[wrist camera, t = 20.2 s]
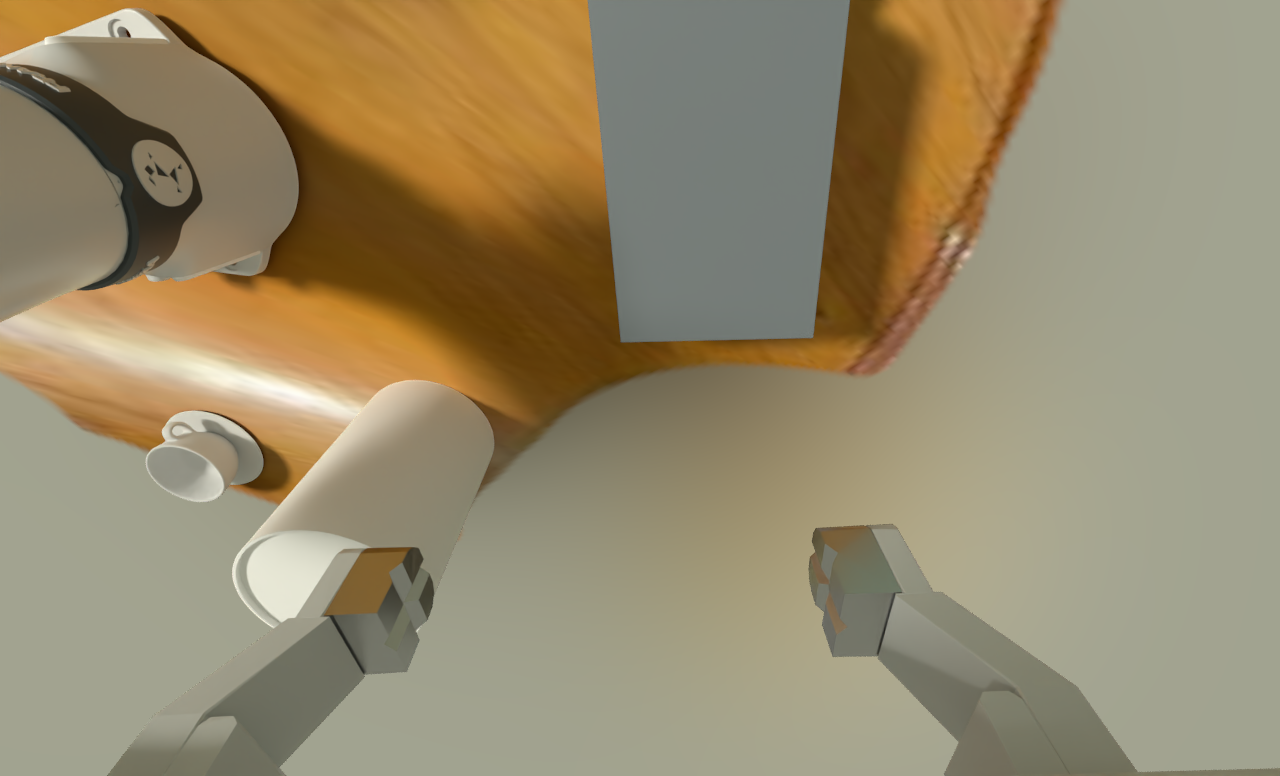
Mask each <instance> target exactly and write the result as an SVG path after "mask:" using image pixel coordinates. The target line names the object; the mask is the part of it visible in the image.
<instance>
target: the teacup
mask: <svg viewBox="0 0 1280 776" xmlns="http://www.w3.org/2000/svg"><path fill="white" fill-rule="evenodd" d="M162 435H163V437H164V439H165V441H166V442H164V443H162V444H161V445H159V446H157V447H155V448H154V449H152V450H151V451H150V452H149V453H148V455H147V457H146V467H147V470H148V472H149V474H150V476H151V477H152V478H153V480H154V481H155V482H156V483H157V484H158V485H159V486H161V487H162V488H163V489H165V490H166V491H168V492H169V493H171V494H173V495H175V496H177V497H180V498H183V499H185V500H189V501H195V502H209V501H212V500H215V499H217V498H219V497H220V496H221V495H222V494H223V493H224V491H225V490H226V489H227V488H228V486H229V485H239V484H245V483H248V482H251V481H253V480H254V479H256V478H257V477H258V476H259V475H260V473H261V471H262V469H263V463H264V462H263V455H262V453H261V450H260V448H259V446H258V445H257V443H256V442H255V440H254V439H253V438H252V437H251V436H250V435H249V434H248V433H247V432H246V431H245V430H244V429H242V428H241V427H240V426H238V425H237V424H235V423H234V422H232V421H230V420H228V419H226V418H224V417H221V416H219V415H216V414H213V413H209V412H204V411H185V412H181V413H178V414H176V415H174V416H173V417H171V418H170V419H169V421H168V422H167V423H166V426H165V427H164V428H163V430H162Z"/></svg>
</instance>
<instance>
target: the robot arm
mask: <svg viewBox="0 0 1280 776" xmlns="http://www.w3.org/2000/svg"><path fill="white" fill-rule="evenodd" d="M126 30H128V31H129V33H130V35H131V38H129V37H128V36H127V33H126ZM298 194H299V183H298V174H297V168H296V164H295V160H294V157H293V154H292V151H291V148H290V146H289V143H288V141H287V139H286V137H285V135H284V133H283V131H282V129H281V127H280V126H279V124H278V122H277V121H276V119H275V118H274V116H273V115H272V113H271V112H270V111H269V109H268V108H267V107H266V106H265V104H264V103H263V102H262V101H261V100H260V98H259V97H258V96H257V95H256V94H255V93H254V92H253V91H252V90H251V89H250V88H249V87H248V86H247V85H246V84H244V83H243V82H242V81H241V80H240V79H239V78H237V77H236V76H235V75H233V74H232V73H231V72H229V71H228V70H226V69H225V68H223V67H222V66H220V65H219V64H217V63H215V62H213V61H211V60H210V59H208V58H206V57H204V56H202V55H200V54H199V53H197V52H195V51H194V50H192V49H191V48H189V47H188V46H186V45H185V44H184V43H183V42H182V41H181V40H180V39H179V38H178V37H177V36H176V35H175V34H174V33H173V32H172V31H171V30H170V29H169V28H168V27H167V26H166V25H165V24H164V23H163V22H162V21H161V20H160V19H158V18H157V17H156V16H155V15H153V14H152V13H151V12H149V11H147V10H145V9H142V8H126V9H122V10H120V11H117V12H114V13H112V14H109V15H107V16H104V17H102V18H99V19H97V20H94V21H92V22H89V23H86V24H84V25H81V26H79V27H76V28H74V29H71V30H69V31H66V32H64V33H61V34H58V35H56V36H50V37H46V38H45V40H43V41H41V42H38V43H36V44H33V45H30V46H28V47H25V48H23V49H20V50H18V51H15V52H13V53H10V54H8V55H5V56H2V57H0V322H2V321H4V320H6V319H9V318H11V317H13V316H15V315H17V314H20V313H22V312H24V311H26V310H29V309H31V308H33V307H35V306H38V305H40V304H42V303H45V302H47V301H50V300H52V299H54V298H57V297H59V296H62V295H64V294H67V293H69V292H72V291H74V290H94V289H99V288H103V287H106V286H110V285H114V284H116V285H117V284H121V283H124V282H127V281H130V280H133V279H135V278H137V277H139V276H141V275H143V274H145V275H146V276H147V278H148V280H150V281H164V280H168V279H170V278H172V279H174V280H175V281H185V280H189V279H192V278H195V277H197V276H200V275H203V274H206V273H209V272H211V271H213V272H221V273H229V274H237V275H245V276H252V275H256V274H259V273H262V272H263V271H264V270H265V269H266V267H267V264H268V261H269V257H270V251H271V246H272V244H273V243H274V241H275V240H276V239H277V238H278V237H279V235H280V234H281V233H282V232H283V231H284V230H285V229H286V228H287V226H288V225H289V223H290V222H291V220H292V218H293V216H294V213H295V210H296V207H297V202H298ZM812 543H813V546H814V549H815V553H814V554H813V555H812V556H811V557H810V561H809V580H810V585H811V591H812V595H813V598H814V601H815V605H817V606H818V607H819V608H820V609H821V610H822V611H824V616H823V622H822V626H823V629H824V632H825V635H826V638H827V641H828V644H829V647H830V650H831V653H832V656H833V657H837V656H839V657H842V656H878V659H879V660H880V661H881V662H882V663H883V664H884V665H885V666H886V668H887V669H889V671H890V672H891V673H892V674H893V675H894V676H895V677H896V678H897V679H898V680H899V681H900V682H901V683H902V684H903V685H904V686H905V687H906V688H907V689H908V690H909V691H910V692H911V693H912V694H913V695H914V696H915V697H916V698H917V699H918V701H920V703H921V704H922V705H923V706H924V707H925V708H926V709H927V710H928V711H929V712H930V713H931V714H932V715H933V716H934V717H935V718H936V719H937V720H938V721H939V722H940V723H941V724H942V725H943V726H944V727H945V728H946V729H947V730H948V731H949V732H950V734H951V735H952V736H954V738H955V739H956V740H957V741H958V742H959V743H958V746H957V748H956V750H955V752H954V754H953V756H952V759H951V760H950V762H949V765H948V767H947V769H946V771H945V773H944V775H945V776H1280V768H1275V769H1237V770H1200V771H1161V772H1137V770H1136V769H1135V767H1134V766H1133V765H1132V763H1131V762H1130V760H1129V759H1128V757H1127V756H1126V755H1125V753H1124V752H1123V751H1122V749H1121V748H1120V746H1119V745H1118V743H1117V742H1116V741H1115V739H1114V738H1113V736H1112V735H1111V734H1110V733H1109V731H1108V729H1107V728H1106V726H1105V725H1104V724H1103V722H1102V721H1101V719H1100V718H1099V717H1098V715H1097V714H1096V712H1095V711H1094V710H1093V708H1092V707H1091V705H1090V704H1089V702H1088V701H1087V700H1086V698H1085V697H1084V695H1083V694H1082V693H1081V691H1080V690H1079V688H1078V687H1077V686H1076V685H1074V684H1073V683H1071V682H1070V681H1068V680H1067V679H1066V678H1064V677H1063V676H1061V675H1060V674H1058V673H1057V672H1056V671H1054V670H1053V669H1051V668H1050V667H1048V666H1047V665H1046V664H1044V663H1043V662H1041V661H1040V660H1038V659H1037V658H1035V657H1034V656H1033V655H1031V654H1030V653H1028V652H1027V651H1025V650H1024V649H1023V648H1021V647H1020V646H1018V645H1017V644H1015V643H1014V642H1013V641H1011V640H1010V639H1008V638H1007V637H1005V636H1004V635H1003V634H1001V633H1000V632H998V631H997V630H995V629H994V628H993V627H991V626H990V625H988V624H987V623H985V622H984V621H983V620H981V619H980V618H978V617H977V616H975V615H974V614H973V613H971V612H969V611H968V610H967V609H965V608H964V607H963V606H961V605H960V604H958V603H957V602H955V601H954V600H952V599H951V598H950V597H948V596H947V595H945V594H944V593H942V592H933V590H932V588H931V587H930V585H929V583H928V581H927V580H926V578H925V576H924V574H923V573H922V571H921V569H920V567H919V566H918V564H917V562H916V560H915V559H914V557H913V555H912V553H911V551H910V550H909V548H908V546H907V544H906V543H905V541H904V539H903V537H902V536H901V534H900V532H899V530H898V529H897V527H895V526H894V525H893V524H883V525H867V526H864V525H863V526H844V527H827V528H816V529H815V531H814V532H813V538H812ZM423 560H424V558H423V556H422V554H421V552H420V550H419V548H416V547H389V548H358V549H343V550H342V551H340V552H339V553H337V554H336V555H335V557H334V559H333V560H332V562H331V563H330V565H329V566H328V568H327V569H326V571H325V572H324V574H323V576H322V577H321V579H320V580H319V582H318V583H317V585H316V586H315V588H314V589H313V591H312V593H311V594H310V596H309V597H308V599H307V600H306V602H305V603H304V605H303V606H302V608H301V610H300V611H299V613H298V614H297V616H296V617H295V618H287V619H286V620H285V621H283V622H282V623H281V624H279V625H278V626H276V627H275V628H274V629H272V630H271V631H270V632H268V633H267V634H266V635H264V636H263V637H261V638H260V639H259V640H257V641H256V642H254V643H253V644H252V645H251V646H249V647H247V648H246V649H245V650H243V651H242V652H241V653H239V654H238V655H237V656H235V657H234V658H232V659H231V660H230V661H228V662H227V663H225V664H224V665H223V666H221V667H220V668H219V669H217V670H216V671H214V672H213V673H212V674H210V675H209V676H208V677H206V678H205V679H203V680H202V681H201V682H199V683H198V684H197V685H195V686H194V687H192V688H191V689H190V690H188V691H187V692H185V693H184V694H183V695H181V696H180V697H179V698H177V699H176V700H175V701H173V702H172V703H170V704H169V705H168V706H166V707H165V708H163V709H162V710H161V711H160V712H158V713H157V714H155V715H154V716H153V717H152V718H151V719H150V721H149V722H148V723H147V724H146V726H145V727H144V729H143V730H142V731H141V732H140V734H139V735H138V736H137V738H136V739H135V740H134V741H133V743H132V744H131V745H130V747H129V748H128V749H127V751H126V752H125V753H124V754H123V756H122V757H121V758H120V760H119V761H118V762H117V764H116V765H115V766H114V768H113V769H112V770H111V771H110V773H109V774H108V775H107V776H286V775H285V774H284V773H283V771H281V769H280V768H279V767H280V766H281V765H282V764H283V763H284V762H285V761H286V760H287V759H288V758H289V757H290V756H291V754H293V752H294V751H295V750H296V749H297V748H298V747H299V746H300V745H301V744H302V743H303V742H304V741H305V740H306V739H307V738H308V736H310V734H311V733H312V732H313V731H314V730H315V729H316V728H317V727H318V726H319V725H320V724H321V723H322V722H323V721H324V720H325V719H326V717H327V716H328V715H329V714H330V713H331V712H332V711H333V710H334V709H335V708H336V707H337V706H338V705H339V704H340V703H341V702H342V701H343V700H344V698H345V697H346V696H347V695H348V694H349V693H350V692H351V691H352V690H353V689H354V688H355V687H356V686H357V685H358V684H359V683H360V681H361V680H362V679H363V678H364V677H365V676H364V675H365V674H380V673H395V672H407V670H408V667H409V665H410V663H411V660H412V658H413V655H414V653H415V650H416V647H417V645H418V643H419V638H418V635H417V632H416V630H417V629H418V628H419V627H420V626H421V625H422V624H424V623H425V622H426V621H427V620H428V617H429V615H430V612H431V609H432V605H433V597H434V587H433V581H432V578H431V576H430V573H428V572H427V571H425V570H424V569H422V568H421V567H420V566H421V564H422V562H423Z"/></svg>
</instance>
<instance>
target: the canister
mask: <svg viewBox="0 0 1280 776" xmlns="http://www.w3.org/2000/svg"><path fill="white" fill-rule="evenodd" d="M493 452H494V435H493V431H492V428H491V425H490V423H489V421H488V419H487V418H486V416H485V415H484V413H483V412H482V411H481V410H480V408H479V407H478V406H477V405H476V404H475V403H474V402H472V401H471V400H470V399H469V398H467V397H466V396H465V395H463V394H462V393H460V392H458V391H456V390H454V389H452V388H450V387H448V386H445V385H442V384H439V383H435V382H431V381H424V380H407V381H401V382H397V383H394V384H391V385H389V386H387V387H385V388H383V389H381V390H380V391H379V392H378V393H376V394H375V395H374V396H373V398H372V399H371V400H370V401H369V402H368V403H367V405H366V406H365V407H364V408H363V409H362V410H361V412H360V413H359V414H358V415H357V416H356V417H355V418H354V420H353V421H352V422H351V423H350V424H349V425H348V427H347V428H346V429H345V430H344V431H343V432H342V434H341V435H340V436H339V437H338V438H337V439H336V440H335V442H334V443H333V444H332V445H331V446H330V447H329V449H328V450H327V451H326V452H325V453H324V454H323V456H322V457H321V458H320V459H319V460H318V461H317V463H316V464H315V465H314V466H313V467H312V468H311V469H310V471H309V472H308V473H307V474H306V475H305V476H304V478H303V479H302V480H301V481H300V482H299V483H298V485H297V486H296V487H295V488H294V489H293V490H292V491H291V493H290V494H289V495H288V496H287V497H286V498H285V500H284V501H283V502H282V503H281V504H280V505H279V507H278V508H277V509H276V510H275V511H274V512H273V513H272V515H271V516H270V517H269V518H268V519H267V521H266V522H265V523H264V524H263V525H262V526H261V527H260V529H259V530H258V531H257V532H256V533H255V534H254V535H253V537H252V538H251V539H250V540H249V541H248V542H247V544H246V545H245V546H244V547H243V548H242V549H241V551H240V552H239V553H238V555H237V556H236V559H235V561H234V564H233V569H232V576H233V582H234V585H235V588H236V590H237V592H238V594H239V596H240V597H241V599H242V600H243V602H244V603H245V604H246V606H247V607H248V608H249V609H250V610H251V611H252V612H253V613H254V614H255V615H256V616H257V617H259V618H260V619H261V620H262V621H264V622H265V623H266V624H268V625H269V626H271V627H272V628H275V627H276V626H278V625H279V624H281V623H282V622H283V621H285V620H286V619H287V618H295V617H296V616H297V614H298V613H299V611H300V610H301V608H302V606H303V605H304V603H305V602H306V600H307V599H308V597H309V596H310V594H311V593H312V591H313V589H314V588H315V586H316V585H317V583H318V582H319V580H320V579H321V577H322V576H323V574H324V572H325V571H326V569H327V568H328V566H329V565H330V563H331V562H332V560H333V559H334V557H335V555H336V554H337V553H339V552H340V551H342V550H343V549H358V548H389V547H416V548H419V550H420V552H421V554H422V556H423V558H424V560H423V562H422V564H421V566H420V567H421V568H422V569H424V570H425V571H427V572H428V573H430V576H431V578H432V581H433V587H434V595H435V592H436V590H437V588H438V585H439V583H440V580H441V578H442V576H443V573H444V571H445V568H446V566H447V564H448V561H449V559H450V556H451V554H452V551H453V549H454V547H455V545H456V542H457V540H458V537H459V535H460V533H461V530H462V528H463V525H464V523H465V520H466V518H467V516H468V513H469V511H470V508H471V506H472V504H473V501H474V499H475V496H476V494H477V492H478V489H479V487H480V484H481V482H482V480H483V477H484V475H485V472H486V470H487V468H488V465H489V463H490V460H491V458H492V455H493ZM421 626H422V625H421ZM421 626H420V627H419V628H418V629H417V630H416V632H418V631H419V629H420V628H421Z"/></svg>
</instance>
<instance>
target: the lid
mask: <svg viewBox="0 0 1280 776" xmlns="http://www.w3.org/2000/svg"><path fill="white" fill-rule="evenodd" d="M849 5H850V0H588V8H589V18H590V28H591V39H592V49H593V59H594V70H595V80H596V90H597V101H598V111H599V121H600V132H601V142H602V152H603V163H604V173H605V184H606V194H607V204H608V215H609V225H610V235H611V246H612V256H613V266H614V277H615V287H616V297H617V308H618V318H619V328H620V339H621V342H660V341H702V340H745V339H788V338H813V334H814V325H815V316H816V306H817V297H818V288H819V279H820V270H821V261H822V252H823V242H824V233H825V224H826V215H827V206H828V197H829V188H830V178H831V169H832V160H833V151H834V142H835V133H836V124H837V115H838V105H839V96H840V87H841V78H842V69H843V60H844V51H845V41H846V32H847V23H848V14H849Z"/></svg>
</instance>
